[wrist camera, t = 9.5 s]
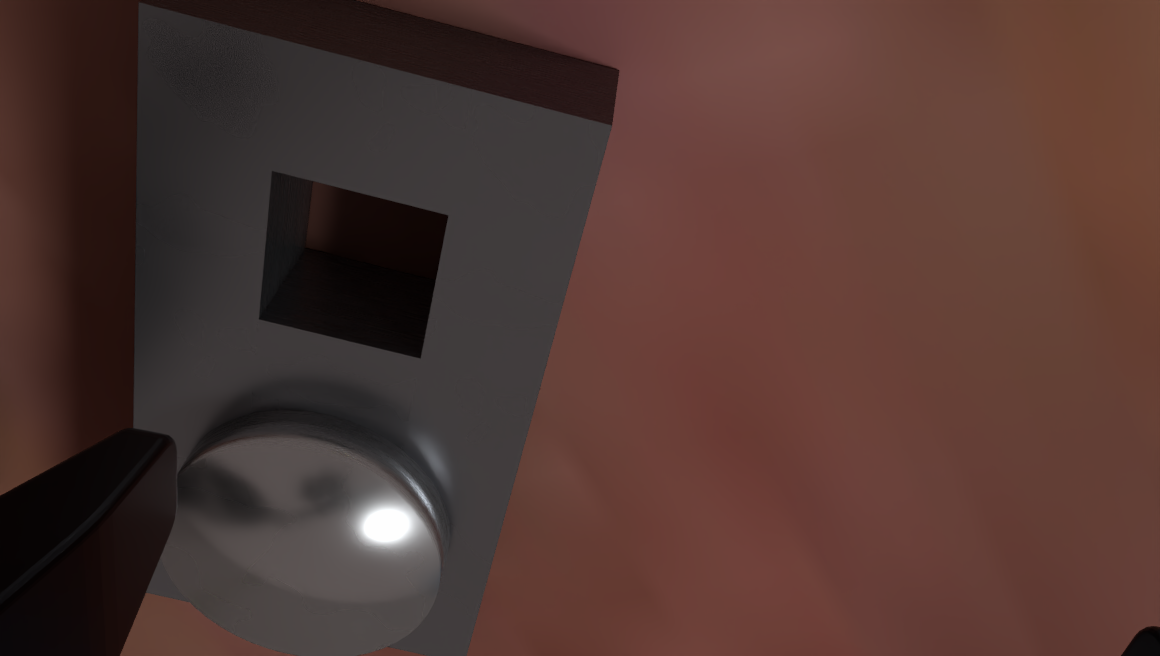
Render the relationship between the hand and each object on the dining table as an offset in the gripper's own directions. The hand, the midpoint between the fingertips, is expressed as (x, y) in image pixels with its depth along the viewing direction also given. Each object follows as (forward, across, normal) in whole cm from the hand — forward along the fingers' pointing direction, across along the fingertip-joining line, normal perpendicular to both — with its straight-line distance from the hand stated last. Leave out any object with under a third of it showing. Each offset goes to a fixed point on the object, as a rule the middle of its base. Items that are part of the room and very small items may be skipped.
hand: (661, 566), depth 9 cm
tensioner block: (+13, +5, +6) cm, 15 cm away
